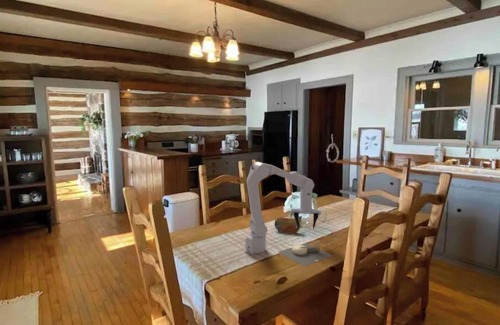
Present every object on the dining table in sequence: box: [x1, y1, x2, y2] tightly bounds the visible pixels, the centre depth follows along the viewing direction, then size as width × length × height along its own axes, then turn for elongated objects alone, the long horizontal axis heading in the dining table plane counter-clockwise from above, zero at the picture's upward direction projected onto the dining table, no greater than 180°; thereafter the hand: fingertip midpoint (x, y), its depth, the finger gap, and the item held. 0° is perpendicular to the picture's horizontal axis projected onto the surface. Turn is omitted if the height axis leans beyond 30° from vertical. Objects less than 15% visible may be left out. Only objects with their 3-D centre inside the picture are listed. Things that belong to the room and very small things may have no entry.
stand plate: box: [278, 243, 333, 267], centre depth 141 cm, size 18×18×2 cm
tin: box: [274, 216, 301, 234], centre depth 174 cm, size 15×3×8 cm, turn 62°
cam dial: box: [291, 240, 321, 255], centre depth 143 cm, size 13×7×5 cm, turn 93°
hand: (305, 227), depth 153 cm, fingers open, 7 cm apart
